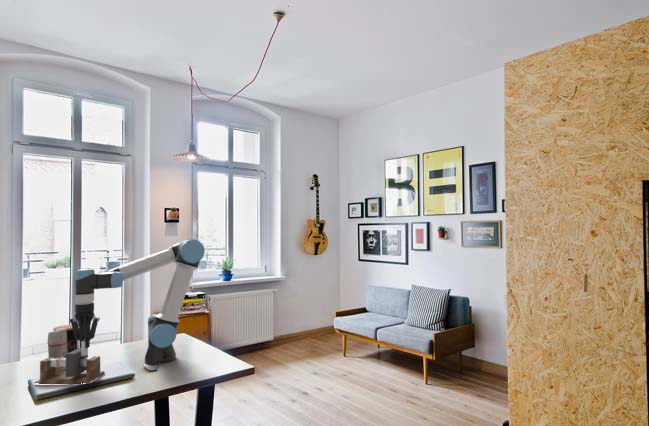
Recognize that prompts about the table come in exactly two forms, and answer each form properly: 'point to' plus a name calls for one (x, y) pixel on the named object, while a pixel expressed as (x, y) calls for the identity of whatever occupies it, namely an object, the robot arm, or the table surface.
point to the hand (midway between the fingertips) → (84, 355)
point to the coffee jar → (69, 337)
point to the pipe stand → (53, 377)
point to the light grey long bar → (62, 362)
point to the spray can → (58, 345)
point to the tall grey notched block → (74, 363)
